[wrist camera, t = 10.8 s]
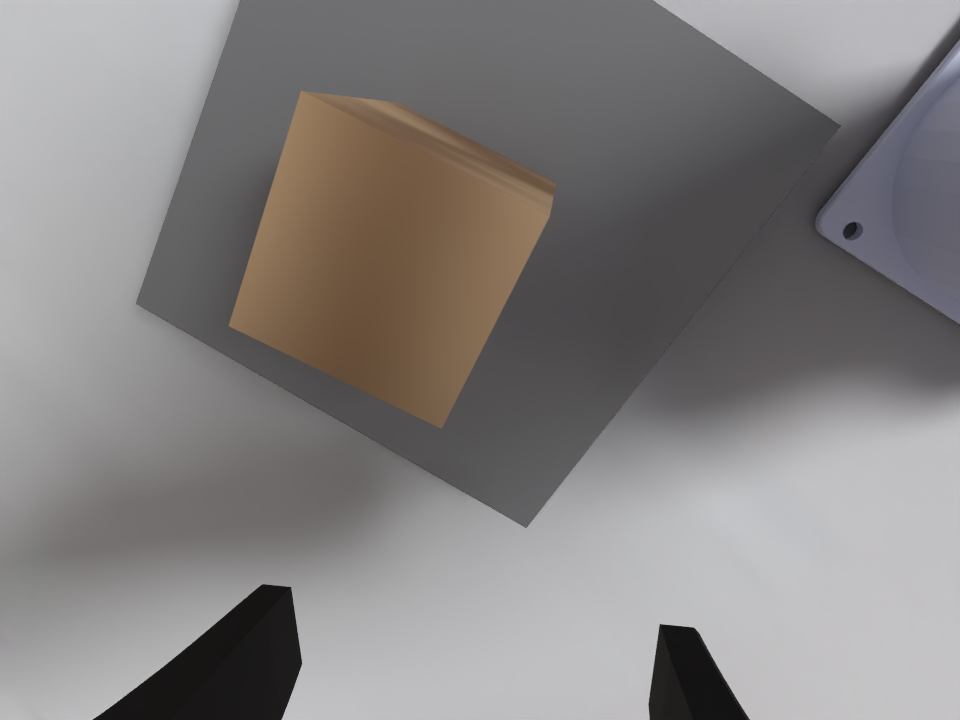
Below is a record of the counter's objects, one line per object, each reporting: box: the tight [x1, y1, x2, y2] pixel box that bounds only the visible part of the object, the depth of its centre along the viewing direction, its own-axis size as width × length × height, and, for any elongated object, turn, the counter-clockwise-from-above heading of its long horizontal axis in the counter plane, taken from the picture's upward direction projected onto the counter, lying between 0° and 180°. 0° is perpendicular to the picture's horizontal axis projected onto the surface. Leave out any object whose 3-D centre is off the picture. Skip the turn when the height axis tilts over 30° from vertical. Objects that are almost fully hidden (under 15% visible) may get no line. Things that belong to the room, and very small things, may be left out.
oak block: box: [229, 91, 556, 429], centre depth 13 cm, size 4×4×6 cm
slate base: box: [136, 0, 841, 528], centre depth 18 cm, size 14×14×3 cm
